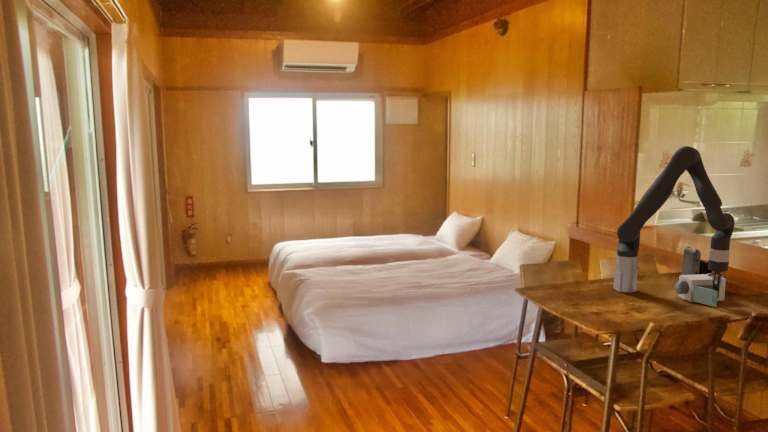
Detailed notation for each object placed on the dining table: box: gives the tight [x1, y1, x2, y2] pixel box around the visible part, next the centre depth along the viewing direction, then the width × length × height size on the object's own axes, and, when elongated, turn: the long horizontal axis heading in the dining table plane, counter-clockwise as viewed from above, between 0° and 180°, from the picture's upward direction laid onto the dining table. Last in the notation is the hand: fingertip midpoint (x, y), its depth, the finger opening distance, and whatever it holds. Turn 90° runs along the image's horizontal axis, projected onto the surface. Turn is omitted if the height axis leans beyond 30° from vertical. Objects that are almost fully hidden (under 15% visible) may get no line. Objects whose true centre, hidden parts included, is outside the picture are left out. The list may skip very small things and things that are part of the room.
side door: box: [691, 285, 718, 308], centre depth 243 cm, size 11×2×7 cm, turn 30°
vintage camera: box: [680, 246, 714, 275], centre depth 270 cm, size 10×15×20 cm, turn 89°
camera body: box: [674, 272, 727, 303], centre depth 253 cm, size 19×9×11 cm, turn 95°
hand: (715, 298), depth 242 cm, fingers closed
